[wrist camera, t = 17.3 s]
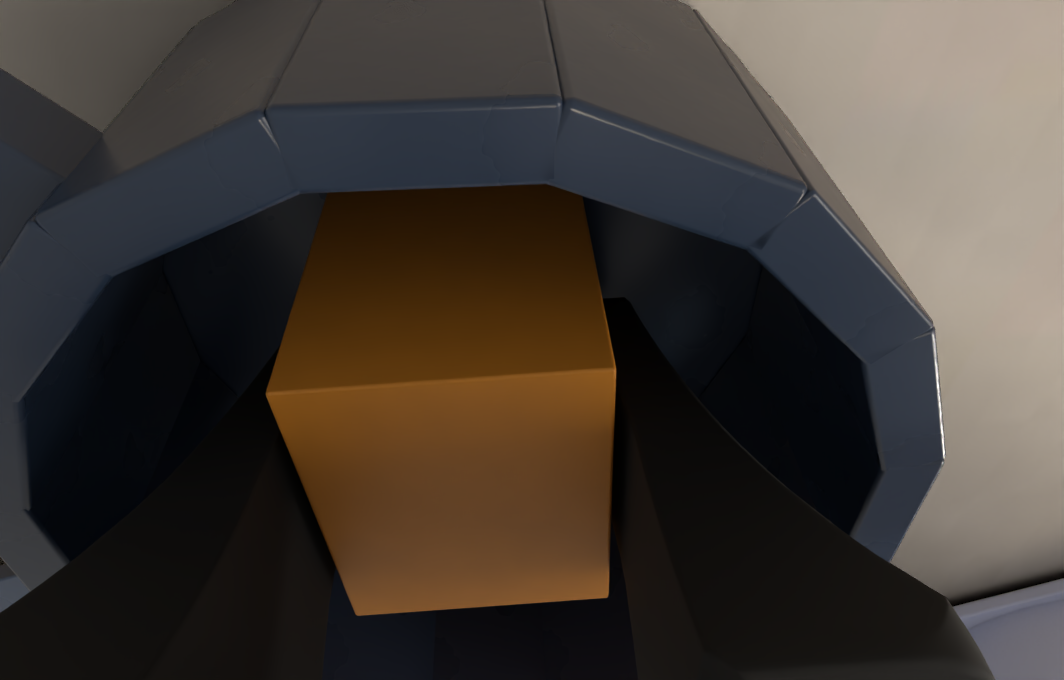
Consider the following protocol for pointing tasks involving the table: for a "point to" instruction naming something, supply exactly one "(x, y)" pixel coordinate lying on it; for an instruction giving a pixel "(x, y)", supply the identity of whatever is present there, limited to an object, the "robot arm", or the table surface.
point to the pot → (427, 163)
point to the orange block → (453, 397)
